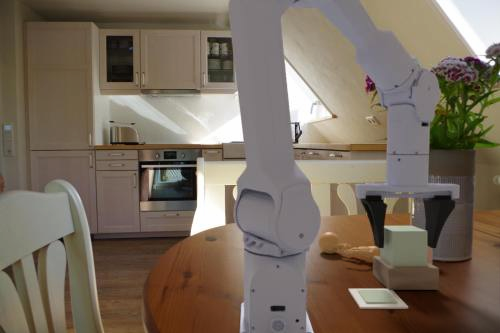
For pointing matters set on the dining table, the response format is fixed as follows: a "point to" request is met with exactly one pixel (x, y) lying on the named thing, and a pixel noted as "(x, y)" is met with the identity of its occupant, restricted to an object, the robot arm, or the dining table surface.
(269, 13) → the robot arm
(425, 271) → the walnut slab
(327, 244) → the figurine
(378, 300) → the swatch
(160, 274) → the dining table surface
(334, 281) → the dining table surface
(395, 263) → the sage block
